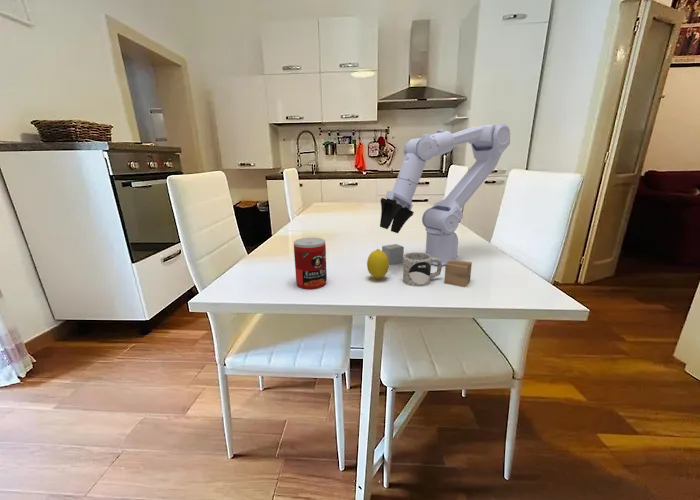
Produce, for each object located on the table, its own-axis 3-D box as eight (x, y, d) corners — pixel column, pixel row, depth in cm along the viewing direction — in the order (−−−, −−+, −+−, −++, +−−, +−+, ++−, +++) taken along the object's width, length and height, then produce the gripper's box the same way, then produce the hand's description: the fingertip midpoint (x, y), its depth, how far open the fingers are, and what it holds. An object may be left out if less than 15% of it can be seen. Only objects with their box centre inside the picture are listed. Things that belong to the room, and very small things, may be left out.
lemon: (392, 277, 82) (392, 248, 80) (382, 284, 77) (382, 253, 75) (373, 273, 85) (374, 245, 83) (363, 280, 80) (362, 250, 78)
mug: (409, 287, 75) (410, 261, 74) (399, 278, 82) (399, 253, 80) (447, 283, 77) (449, 257, 76) (434, 274, 84) (435, 250, 82)
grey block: (395, 259, 98) (396, 243, 96) (403, 262, 94) (403, 246, 93) (381, 261, 96) (382, 246, 94) (389, 265, 92) (389, 249, 91)
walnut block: (450, 277, 82) (451, 259, 80) (470, 281, 79) (471, 262, 78) (444, 283, 78) (445, 264, 76) (465, 287, 75) (466, 267, 74)
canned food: (304, 292, 74) (301, 246, 71) (291, 281, 80) (288, 240, 77) (332, 285, 78) (331, 242, 75) (318, 276, 84) (316, 235, 81)
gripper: (402, 186, 92) (386, 229, 93) (383, 170, 80) (365, 221, 81) (425, 192, 89) (407, 237, 90) (408, 176, 76) (388, 229, 77)
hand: (389, 230), depth 85 cm, fingers open, 7 cm apart
